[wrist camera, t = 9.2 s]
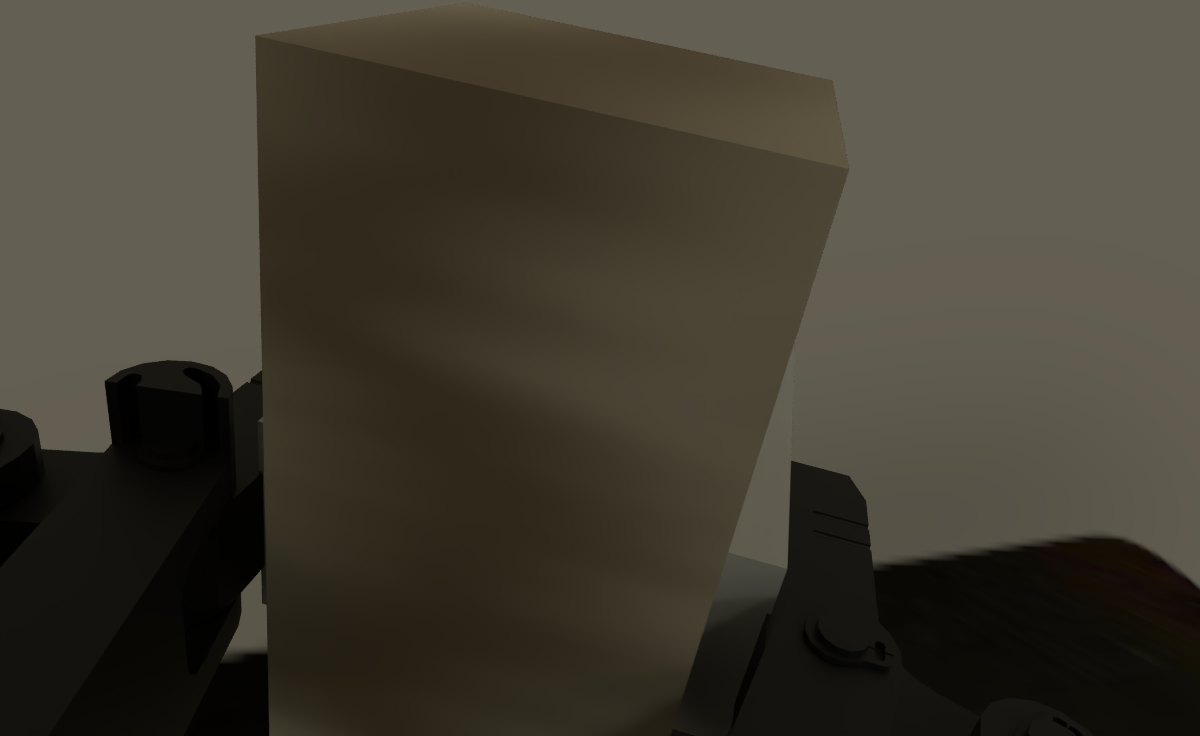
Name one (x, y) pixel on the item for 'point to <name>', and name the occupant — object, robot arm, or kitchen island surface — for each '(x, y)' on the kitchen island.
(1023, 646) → the kitchen island surface
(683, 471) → the peg
